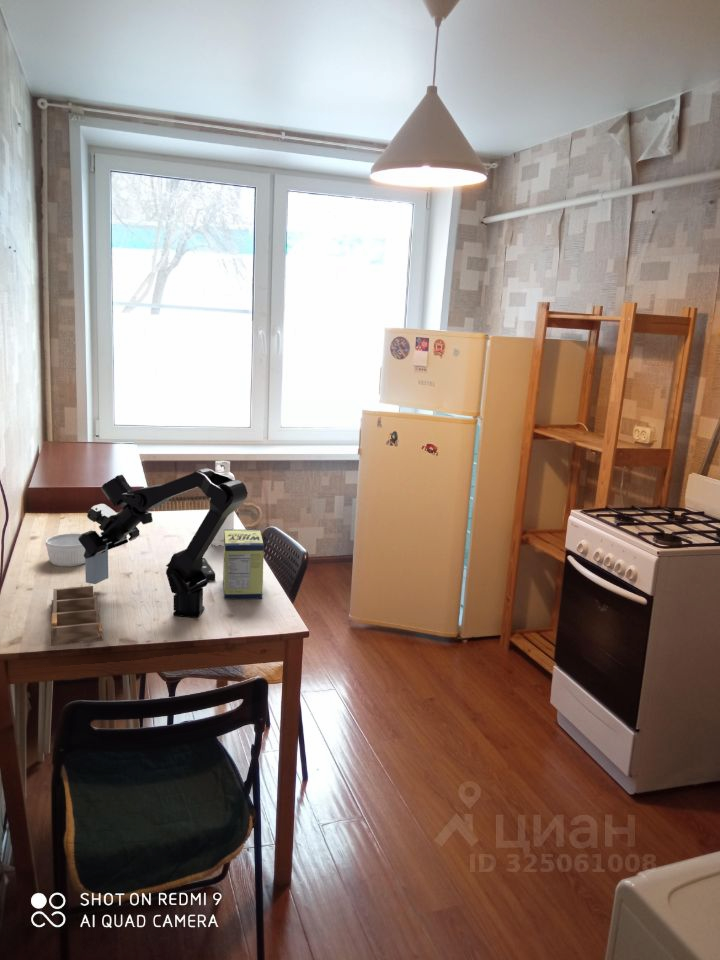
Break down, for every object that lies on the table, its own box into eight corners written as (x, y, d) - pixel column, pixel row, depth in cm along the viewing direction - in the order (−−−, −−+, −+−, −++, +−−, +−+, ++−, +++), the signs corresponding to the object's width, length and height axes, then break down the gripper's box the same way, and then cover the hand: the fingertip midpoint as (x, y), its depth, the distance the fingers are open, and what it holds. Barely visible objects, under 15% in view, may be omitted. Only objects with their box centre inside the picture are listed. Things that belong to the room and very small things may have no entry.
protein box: (258, 579, 209) (260, 528, 206) (262, 599, 194) (264, 544, 191) (222, 580, 207) (223, 528, 203) (224, 600, 192) (225, 545, 189)
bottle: (236, 540, 244) (238, 460, 239) (228, 547, 237) (230, 465, 231) (214, 538, 246) (215, 458, 240) (205, 544, 238) (206, 462, 232)
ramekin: (41, 568, 207) (41, 545, 206) (51, 554, 220) (50, 532, 218) (89, 568, 210) (89, 545, 208) (96, 554, 222) (96, 532, 221)
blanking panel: (108, 577, 194) (107, 535, 191) (95, 584, 189) (94, 541, 186) (99, 576, 195) (98, 534, 192) (85, 582, 190) (84, 539, 187)
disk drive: (216, 582, 206) (204, 565, 219) (216, 573, 206) (204, 556, 218) (180, 585, 202) (170, 568, 215) (180, 576, 201) (170, 559, 214)
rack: (97, 599, 187) (96, 583, 186) (102, 639, 164) (102, 621, 163) (51, 603, 182) (51, 586, 181) (50, 645, 160) (50, 626, 159)
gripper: (129, 489, 194) (97, 522, 200) (83, 503, 177) (49, 539, 183) (154, 520, 194) (121, 553, 199) (110, 538, 176) (75, 573, 182)
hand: (92, 554), depth 191 cm, fingers closed on blanking panel, 5 cm apart
